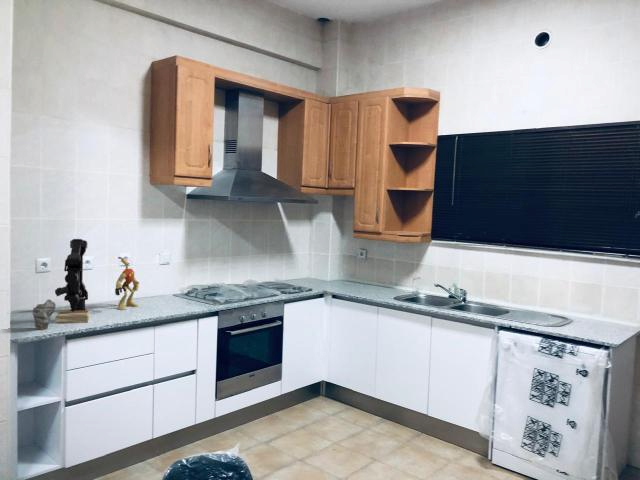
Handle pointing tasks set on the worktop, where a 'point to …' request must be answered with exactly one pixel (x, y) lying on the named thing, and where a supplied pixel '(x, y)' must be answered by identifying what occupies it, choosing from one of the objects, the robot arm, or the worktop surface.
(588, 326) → the worktop surface
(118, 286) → the toy
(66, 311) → the flap
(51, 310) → the rock
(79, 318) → the plywood box
